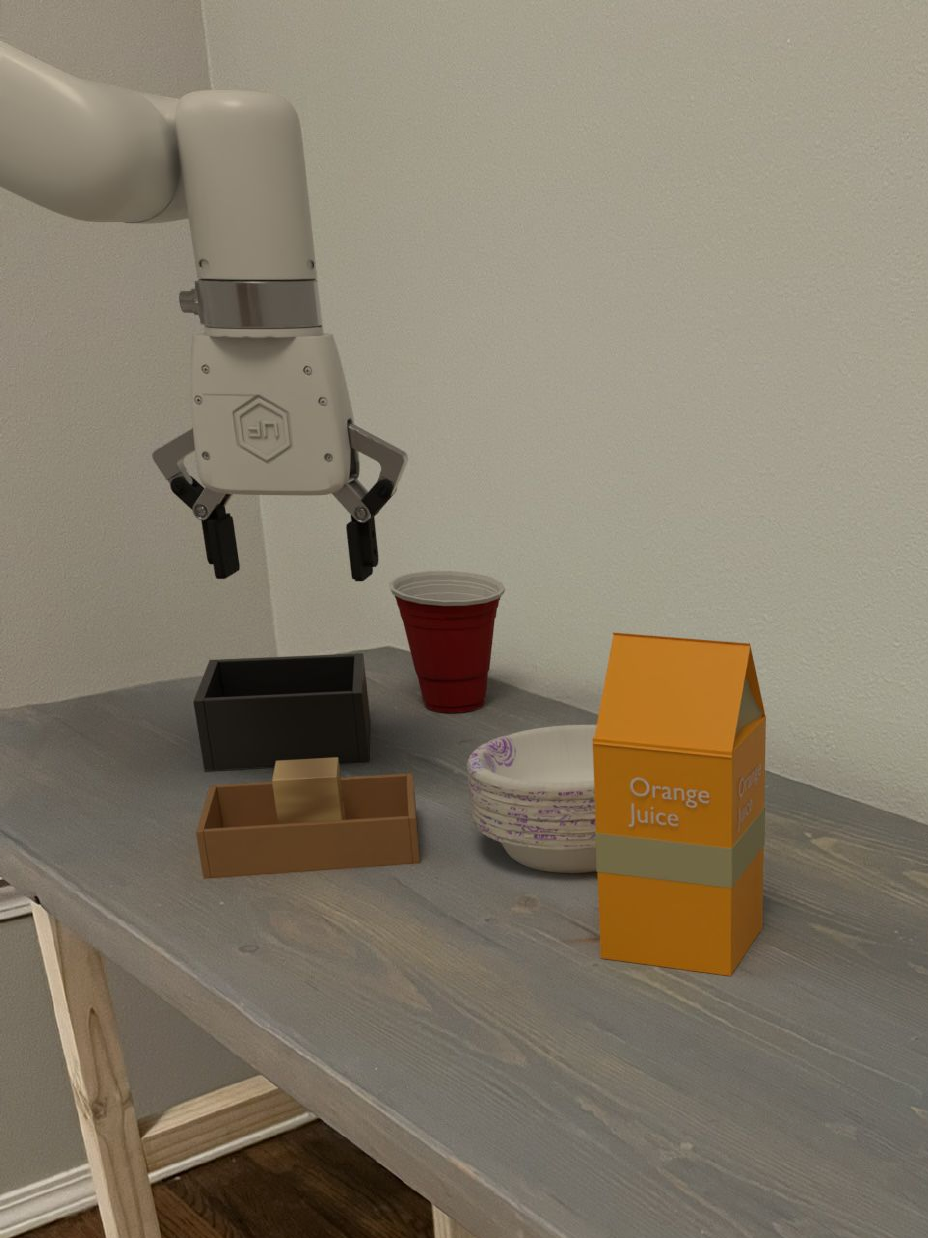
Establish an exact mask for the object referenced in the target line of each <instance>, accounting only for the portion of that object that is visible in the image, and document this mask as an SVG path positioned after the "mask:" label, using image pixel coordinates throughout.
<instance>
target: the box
mask: <svg viewBox="0 0 928 1238" xmlns="http://www.w3.org/2000/svg"><path fill="white" fill-rule="evenodd" d="M341 784H342V792H343V801H344V809H345V818H346V820H337V821H322V822H306V823H291V824H278V821H277V813H276V806H275V799H274V792H273V785H272V781H259V782H244V783H243V782H242V783H241V782H240V783H225V784H223V783H222V784H210V785H209V787H208V790H207V793H206V798H205V800H204V804H203V807H202V811H201V814H200V818H199V821H198V823H197V828H196V830H195V836H196V841H197V847H198V853H199V860H200V865H201V871H202V878H203V879H204V880H210V879H221V878H222V879H223V878H236V877H237V878H238V877H252V876H253V877H254V876H265V875H266V876H267V875H279V874H281V875H282V874H293V873H295V874H296V873H306V872H307V873H309V872H321V871H335V870H348V869H349V870H350V869H363V868H378V867H379V868H380V867H392V866H394V867H395V866H407V865H420V864H421V861H420V859H421V858H420V846H419V845H420V844H419V830H418V815H417V814H418V813H417V802H416V794H415V792H416V791H415V782H414V774H413V773H412V772H411V773H396V774H395V773H394V774H378V775H361V776H360V775H359V776H345V777H342V776H341Z"/></svg>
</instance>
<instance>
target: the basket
mask: <svg viewBox="0 0 928 1238" xmlns="http://www.w3.org/2000/svg"><path fill="white" fill-rule="evenodd" d="M366 674H367V673H366V666H365V656H364V653H363V652H358V653H356V652H355V653H338V654H336V653H335V654H316V655H315V654H314V655H292V656H291V655H289V656H268V657H244V658H242V657H241V658H220V659H209V660H208V663H207V666H206V668H205V671H204V673H203V674H202V675H203V676H202V678H201V680H200V683H199V686H198V688H197V691H196V693H195V695H194V699H193V701H192V702H193V708H194V715H195V720H196V728H197V734H198V739H199V745H200V752H201V756H202V758H201V759H202V765H203V770H204V773H214V772H215V773H216V772H231V771H233V772H234V771H250V770H265V769H274V768H275V763H276V761H281V760H299V759H317V758H334V757H338V759H339V765H352V764H353V765H354V764H369V763H370V761H371V728H372V727H371V724H372V720H371V712H370V702H369V693H368V684H367V675H366Z"/></svg>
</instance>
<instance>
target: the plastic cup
mask: <svg viewBox="0 0 928 1238" xmlns="http://www.w3.org/2000/svg"><path fill="white" fill-rule="evenodd" d="M388 587H389V589H390V592H391V595H393V596H394V598H395V601H396V605H397V607H398V611H399V614H400V617H401V620H402V623H403V627H404V631H405V635H406V640H407V643H408V648H409V652H410V655H411V660H412V664H413V668H414V672H415V674H416V676H417V680H418V683H419V688H420V693H421V696H422V699H423V702H424V705H425V706H426V709H427V710H430V711H432V712H438V713H445V714H446V713H448V714H453V713H454V714H457V713H466V712H467V713H468V712H471V711H475V710H478V709H481V708H483V706H484V705H485V699H486V697H487V688H488V678H489V677H488V676H489V671H490V667H491V658H492V657H491V656H492V648H493V639H494V629H495V620H496V618H497V612H498V608H499V605H500V600H501V597H502V596H503V595H504V594H505V591H506V587H505V585H504V584H503V582H501V581H500V580H498V579H496V578H493V577H491V576H488V575H483V574H480V573H479V574H478V573H474V572H465V571H456V570H426V571H418V572H410V573H406V574H403V575H401V576H400V575H399V576H396V577H394V578H393V579H392V580H391V581H389V582H388Z"/></svg>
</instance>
